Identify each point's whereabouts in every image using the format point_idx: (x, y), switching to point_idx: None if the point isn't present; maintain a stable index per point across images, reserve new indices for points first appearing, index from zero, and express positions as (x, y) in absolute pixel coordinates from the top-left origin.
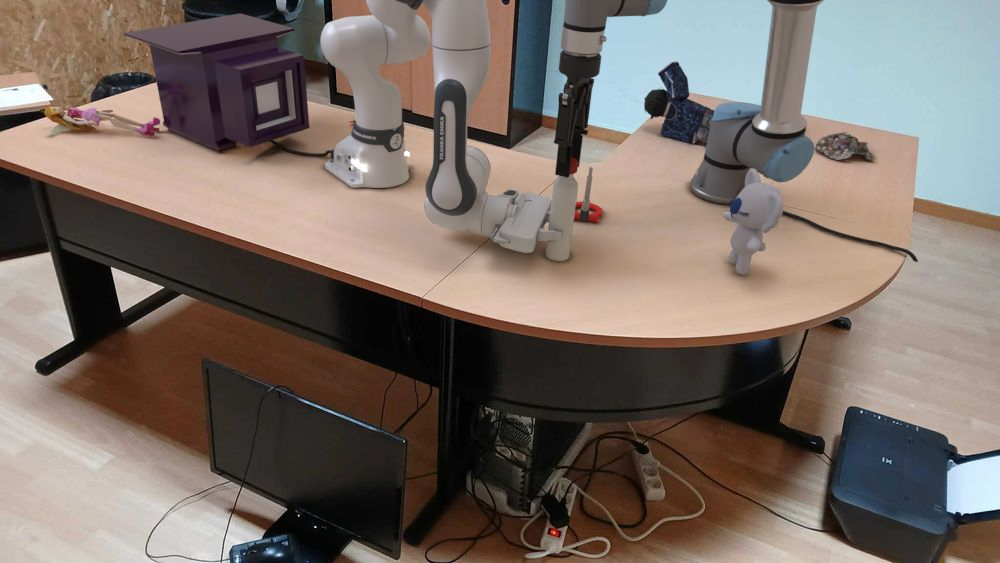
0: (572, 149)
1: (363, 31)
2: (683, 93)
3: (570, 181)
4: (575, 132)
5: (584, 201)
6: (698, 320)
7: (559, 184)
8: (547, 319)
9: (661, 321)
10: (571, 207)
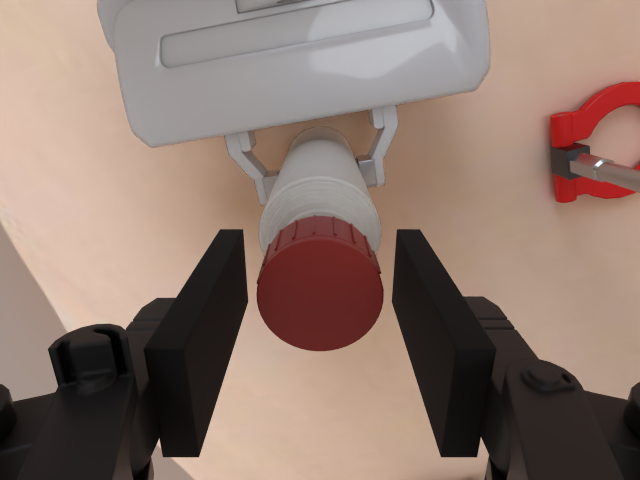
0: (207, 423)
1: None
2: None
3: None
4: (490, 409)
5: (590, 166)
6: (228, 465)
7: (270, 224)
8: (38, 241)
9: None
10: None
